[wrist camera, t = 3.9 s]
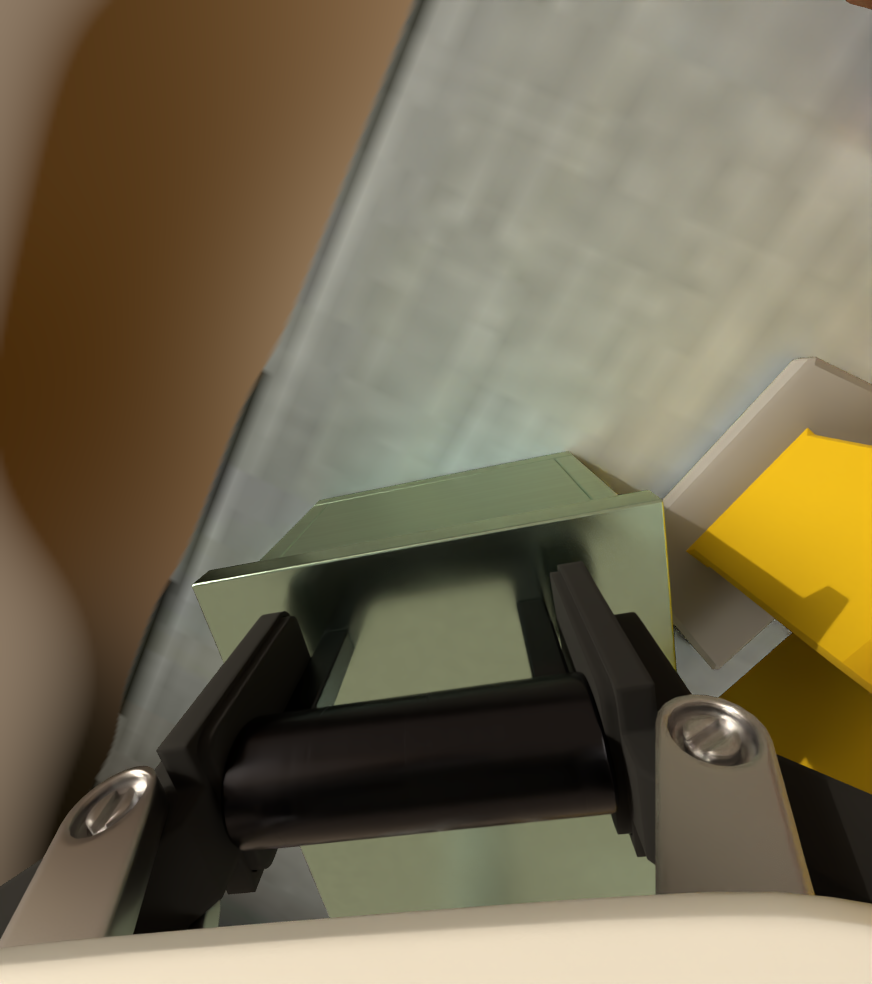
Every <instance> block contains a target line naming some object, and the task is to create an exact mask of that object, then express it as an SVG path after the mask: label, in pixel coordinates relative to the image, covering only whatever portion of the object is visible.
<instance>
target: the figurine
mask: <svg viewBox="0 0 872 984" xmlns="http://www.w3.org/2000/svg"><path fill="white" fill-rule="evenodd" d="M846 1H847V2H849V3H850V4H854V5H857V6H861V7H865V8H868V9H872V0H846Z"/></svg>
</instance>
